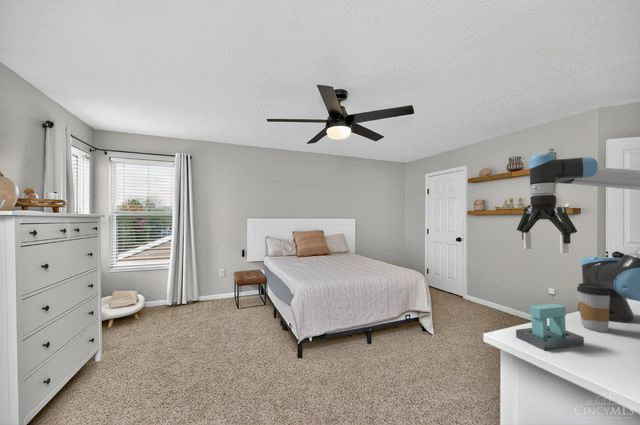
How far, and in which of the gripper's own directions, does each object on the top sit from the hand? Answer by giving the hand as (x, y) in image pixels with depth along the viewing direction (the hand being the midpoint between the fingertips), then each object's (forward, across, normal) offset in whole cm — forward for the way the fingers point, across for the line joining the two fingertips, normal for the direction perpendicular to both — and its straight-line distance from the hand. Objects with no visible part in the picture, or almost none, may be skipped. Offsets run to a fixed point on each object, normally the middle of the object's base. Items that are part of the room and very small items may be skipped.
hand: (544, 250), depth 100 cm
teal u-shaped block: (+27, +13, -16) cm, 34 cm away
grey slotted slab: (+27, +13, -16) cm, 34 cm away
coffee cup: (+27, +9, +9) cm, 30 cm away
